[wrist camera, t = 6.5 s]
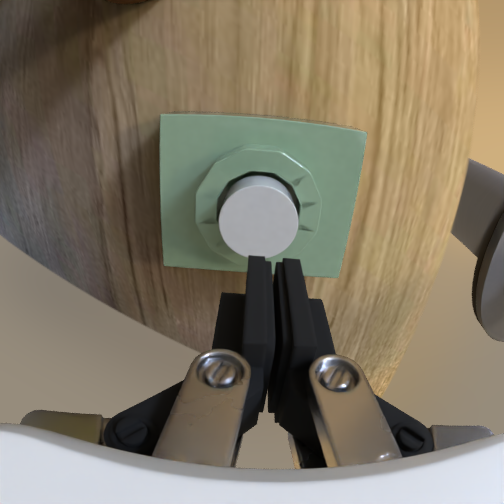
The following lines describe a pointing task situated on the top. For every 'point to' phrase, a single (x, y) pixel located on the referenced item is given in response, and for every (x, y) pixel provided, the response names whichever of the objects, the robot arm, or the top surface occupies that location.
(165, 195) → the green button base
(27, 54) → the top surface
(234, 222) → the grey push button
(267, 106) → the top surface
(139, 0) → the mug
